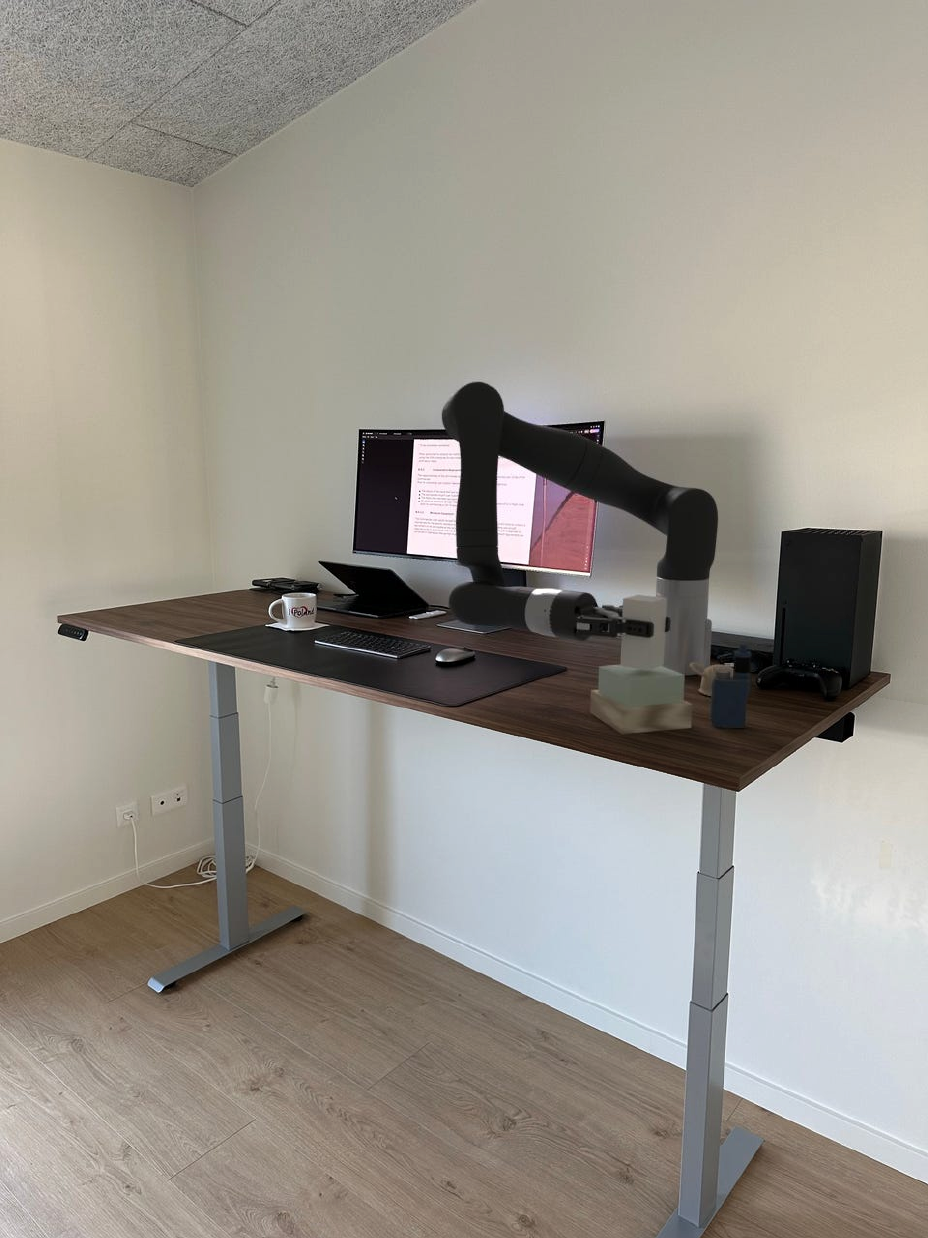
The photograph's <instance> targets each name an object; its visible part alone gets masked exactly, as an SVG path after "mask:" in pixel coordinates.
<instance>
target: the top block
mask: <svg viewBox="0 0 928 1238" xmlns="http://www.w3.org/2000/svg"><path fill="white" fill-rule="evenodd" d="M685 676H686V675H683V674H681V673H678V672H676V671H673V670H671V669H668V668H665V667H663V666H660V667H657V668H655V669H652V670H650V671H647V670H641V669H635V668H629V667H624V666H620V664H612V665H610V664H609V665H602V666H598V689H597V690H598V692H599V693H601V694H603V695H605V696H607V697H609V698H611V699H613V700H615V701H617V702H619V703H621V704H623V705H624V706H626V707H628V708H634V707H643V706H651V705H660V704H669V703H677V702H683V700H685V699H684V697H685V696H684V695H685V679H686V678H685Z"/></svg>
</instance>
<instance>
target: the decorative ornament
mask: <svg viewBox="0 0 928 1238" xmlns="http://www.w3.org/2000/svg"><path fill="white" fill-rule="evenodd" d="M694 666H696V667H699V668H700V669H701V670H703V671H704V672H703V673H702V672H700V671H698V670H696V669H695V668H694ZM690 667H691V669H692V670H693V671H694V672H695V673H697V674H696V675H698V676H700V677H701V682H700V686H699V689H698V690H697V691H698V692H699V693H700V694H702V695H705V696H707V697H709V696H712V682H713V680H714V677H715V676H716V670H728V671H730V676H733V666H729V665H727V664H712V665H710V666H709V667H707V668H705V667H703V666H702V665H700V664H698V663H691V664H690Z"/></svg>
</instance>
